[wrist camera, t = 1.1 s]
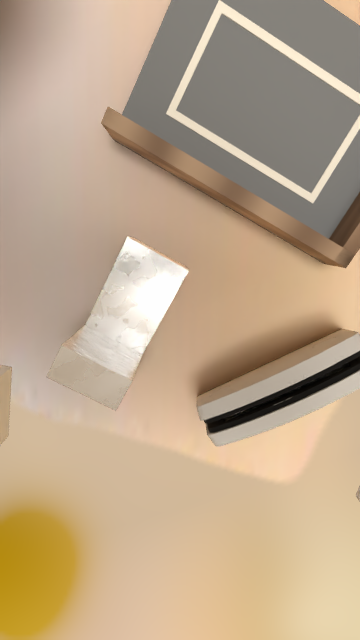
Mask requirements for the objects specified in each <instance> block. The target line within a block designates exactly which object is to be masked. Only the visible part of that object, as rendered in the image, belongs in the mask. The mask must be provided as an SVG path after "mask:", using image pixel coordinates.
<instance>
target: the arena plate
mask: <svg viewBox="0 0 360 640" xmlns="http://www.w3.org/2000/svg"><path fill="white" fill-rule="evenodd" d="M122 115H123V116H125V117H126V118H128V119H130V120H131V121H133V122H135V123H136V124H138V125H140V126H141V127H143V128H145V129H146V130H148V131H150V132H151V133H153V134H155V135H156V136H158V137H160V138H161V139H163V140H165V141H166V142H168V143H170V144H171V145H173V146H175V147H176V148H178V149H180V150H181V151H183V152H185V153H186V154H188V155H190V156H191V157H193V158H195V159H196V160H198V161H200V162H201V163H203V164H205V165H206V166H208V167H210V168H211V169H213V170H215V171H216V172H218V173H220V174H221V175H223V176H225V177H226V178H228V179H230V180H231V181H233V182H235V183H236V184H238V185H240V186H241V187H243V188H245V189H246V190H248V191H250V192H251V193H253V194H255V195H256V196H258V197H260V198H261V199H263V200H265V201H266V202H268V203H270V204H271V205H273V206H275V207H276V208H278V209H280V210H281V211H283V212H285V213H286V214H288V215H290V216H291V217H293V218H295V219H296V220H298V221H300V222H301V223H303V224H305V225H306V226H308V227H310V228H311V229H313V230H315V231H316V232H318V233H320V234H321V235H323V236H325V237H326V238H328V239H329V238H330V236H331V235H332V233H333V232H334V230H335V229H336V227H337V226H338V224H339V223H340V221H341V220H342V218H343V217H344V215H345V214H346V212H347V211H348V209H349V207H350V206H351V204H352V203H353V201H354V200H355V198H356V197H357V195H358V194H359V192H360V26H359V25H358V24H357V23H355V22H354V21H352V20H351V19H349V18H348V17H347V16H345V15H344V14H342V13H341V12H339V11H338V10H336V9H335V8H334V7H332V6H331V5H329V4H328V3H326V2H325V1H324V0H171V3H170V5H169V7H168V10H167V12H166V14H165V17H164V19H163V21H162V24H161V26H160V28H159V31H158V33H157V35H156V37H155V40H154V42H153V44H152V47H151V49H150V51H149V54H148V56H147V58H146V61H145V63H144V65H143V68H142V70H141V72H140V74H139V77H138V79H137V81H136V84H135V86H134V88H133V91H132V93H131V95H130V98H129V100H128V102H127V105H126V107H125V109H124V111H123V114H122ZM113 139H114V138H113ZM114 140H115V139H114ZM115 141H117V140H115ZM117 142H118V143H120V142H119V141H117ZM120 144H122V143H120ZM122 145H123V146H125V147H127V146H126V145H124V144H122ZM127 148H129V147H127ZM129 149H130V150H132V149H131V148H129ZM132 151H134V150H132ZM134 152H135V153H137V152H136V151H134ZM137 154H139V153H137ZM139 155H140V156H142V155H141V154H139ZM142 157H144V156H142ZM144 158H146V157H144ZM146 159H147V160H149V159H148V158H146ZM149 161H151V160H149ZM151 162H152V163H154V162H153V161H151ZM154 164H156V163H154ZM156 165H157V166H159V165H158V164H156ZM159 167H161V166H159ZM161 168H163V167H161ZM163 169H164V170H166V169H165V168H163ZM166 171H168V170H166ZM168 172H169V173H171V172H170V171H168ZM171 174H173V173H171ZM173 175H174V176H176V175H175V174H173ZM176 177H178V176H176ZM178 178H180V177H178ZM180 179H181V180H183V179H182V178H180ZM183 181H185V180H183ZM185 182H186V183H188V182H187V181H185ZM188 184H190V183H188ZM190 185H191V186H193V185H192V184H190ZM193 187H195V186H193ZM195 188H197V187H195ZM197 189H198V190H200V189H199V188H197ZM200 191H202V190H200ZM202 192H203V193H205V192H204V191H202ZM205 194H207V193H205ZM207 195H208V196H210V195H209V194H207ZM210 197H212V196H210ZM212 198H214V197H212ZM214 199H215V198H214ZM215 200H217V199H215ZM217 201H219V200H217ZM219 202H220V203H222V202H221V201H219ZM222 204H224V203H222ZM224 205H225V206H227V205H226V204H224ZM227 207H229V206H227ZM229 208H231V207H229ZM231 209H232V208H231ZM232 210H234V209H232ZM234 211H236V210H234ZM236 212H237V213H239V212H238V211H236ZM239 214H241V213H239ZM241 215H242V216H244V215H243V214H241ZM244 217H246V216H244ZM246 218H248V217H246ZM248 219H249V218H248ZM249 220H251V219H249ZM251 221H253V220H251ZM253 222H254V223H256V222H255V221H253ZM256 224H258V223H256ZM258 225H259V226H261V225H260V224H258ZM261 227H263V226H261ZM263 228H265V227H263ZM265 229H266V228H265ZM266 230H268V229H266ZM268 231H270V230H268ZM270 232H271V233H273V232H272V231H270ZM273 234H275V233H273ZM275 235H276V236H278V235H277V234H275ZM278 237H280V236H278ZM280 238H282V237H280ZM282 239H283V238H282ZM283 240H285V239H283ZM285 241H287V240H285ZM287 242H288V241H287ZM288 243H290V242H288ZM290 244H292V243H290ZM292 245H293V246H295V245H294V244H292ZM295 247H297V246H295ZM297 248H298V249H300V248H299V247H297ZM300 250H302V249H300ZM302 251H304V250H302ZM304 252H305V251H304ZM305 253H307V252H305ZM307 254H309V253H307ZM309 255H310V256H312V255H311V254H309ZM312 257H314V256H312ZM314 258H315V259H317V258H316V257H314ZM317 260H319V259H317ZM319 261H321V260H319ZM321 262H322V261H321ZM322 263H324V262H322ZM324 264H326V263H324Z"/></svg>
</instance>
